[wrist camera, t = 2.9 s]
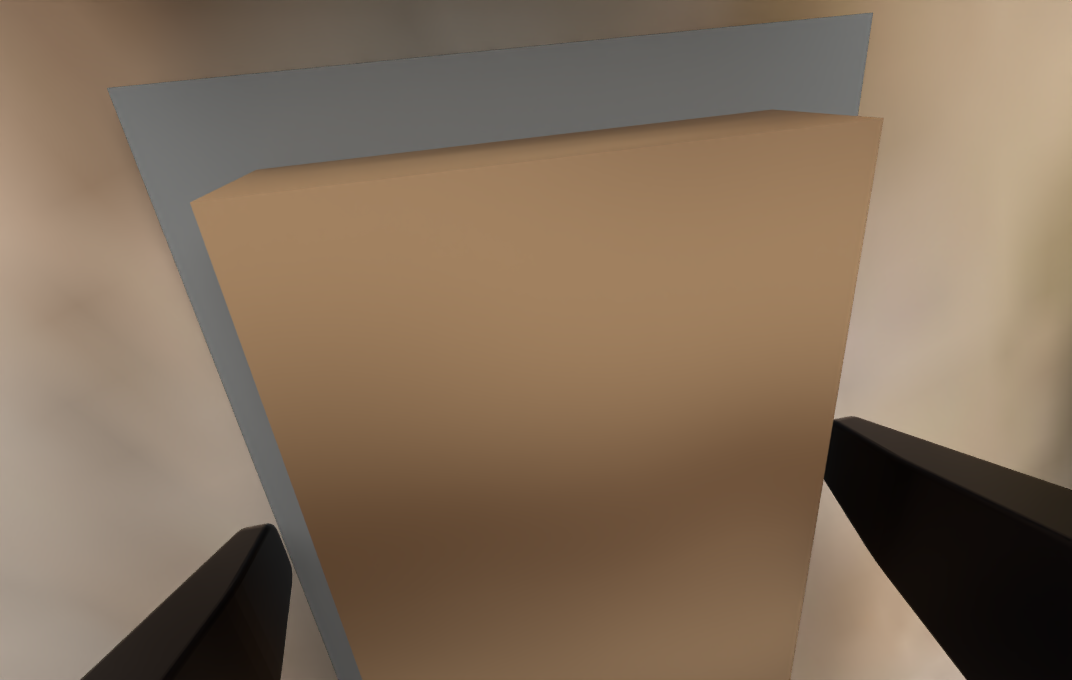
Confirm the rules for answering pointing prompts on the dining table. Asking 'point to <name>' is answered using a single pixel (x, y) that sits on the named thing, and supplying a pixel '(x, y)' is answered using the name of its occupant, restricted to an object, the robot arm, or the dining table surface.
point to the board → (558, 387)
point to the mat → (439, 122)
